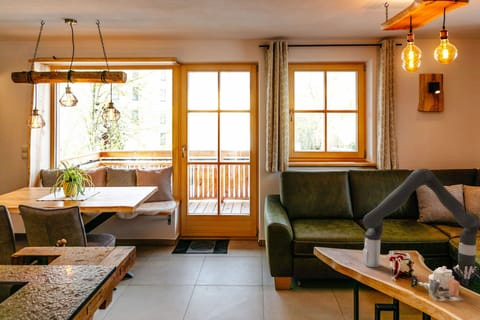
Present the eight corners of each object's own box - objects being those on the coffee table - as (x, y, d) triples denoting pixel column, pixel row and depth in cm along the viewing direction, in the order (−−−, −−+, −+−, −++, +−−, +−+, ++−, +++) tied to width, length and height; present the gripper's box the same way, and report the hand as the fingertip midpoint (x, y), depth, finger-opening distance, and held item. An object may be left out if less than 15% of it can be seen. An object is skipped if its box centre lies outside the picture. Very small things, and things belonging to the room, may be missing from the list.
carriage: (454, 297, 184) (455, 283, 184) (448, 292, 190) (449, 279, 189) (460, 297, 185) (461, 283, 184) (453, 292, 190) (454, 279, 189)
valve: (438, 292, 193) (415, 285, 202) (439, 280, 192) (415, 273, 201) (433, 296, 188) (410, 288, 197) (434, 284, 188) (410, 277, 197)
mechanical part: (438, 282, 206) (439, 261, 205) (457, 291, 195) (458, 269, 194) (423, 285, 202) (424, 264, 201) (442, 294, 191) (443, 272, 190)
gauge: (436, 301, 183) (437, 285, 182) (429, 295, 190) (429, 279, 189) (463, 301, 184) (464, 284, 183) (455, 295, 190) (456, 279, 189)
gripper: (458, 254, 182) (456, 288, 184) (485, 254, 183) (482, 288, 184) (449, 249, 190) (447, 282, 191) (474, 249, 190) (472, 282, 192)
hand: (464, 285), depth 188 cm, fingers closed
